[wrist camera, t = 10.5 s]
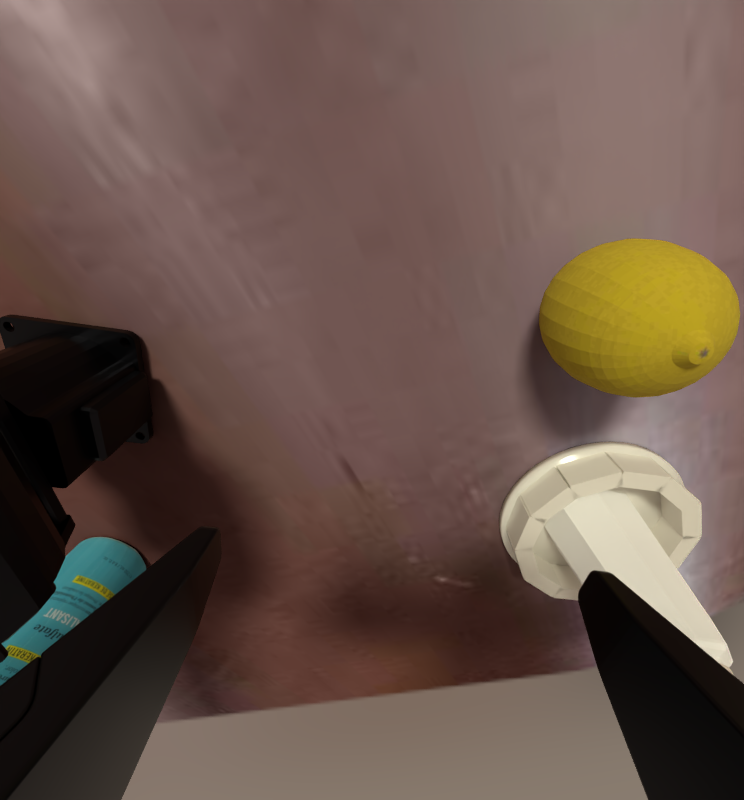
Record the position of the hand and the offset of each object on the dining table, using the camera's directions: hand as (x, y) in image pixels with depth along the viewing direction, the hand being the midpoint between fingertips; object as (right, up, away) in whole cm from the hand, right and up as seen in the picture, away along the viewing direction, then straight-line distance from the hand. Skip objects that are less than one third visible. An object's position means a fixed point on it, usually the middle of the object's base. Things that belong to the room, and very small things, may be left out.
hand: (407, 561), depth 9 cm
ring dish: (+13, -3, +15) cm, 20 cm away
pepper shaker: (+13, -4, +15) cm, 20 cm away
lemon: (+9, +9, +9) cm, 15 cm away
